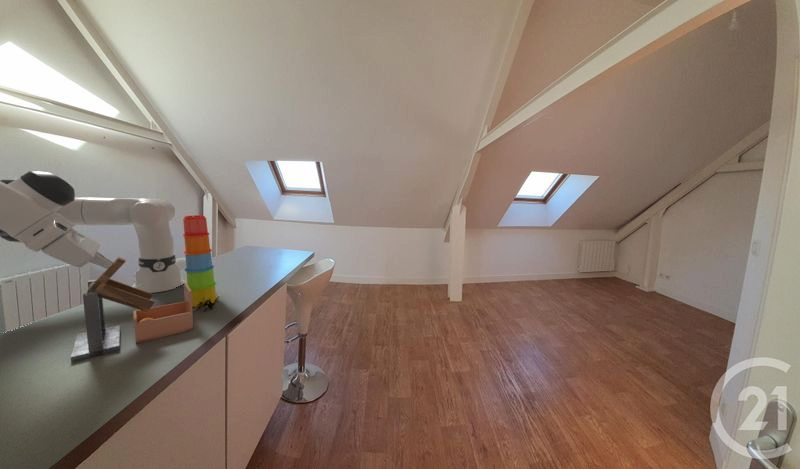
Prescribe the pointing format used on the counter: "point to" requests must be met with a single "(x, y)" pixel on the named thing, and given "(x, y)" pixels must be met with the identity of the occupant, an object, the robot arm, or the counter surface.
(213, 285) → the stacking cups
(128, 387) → the counter surface
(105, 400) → the counter surface
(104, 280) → the lever
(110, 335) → the lever stand
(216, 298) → the creature
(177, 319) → the cup
